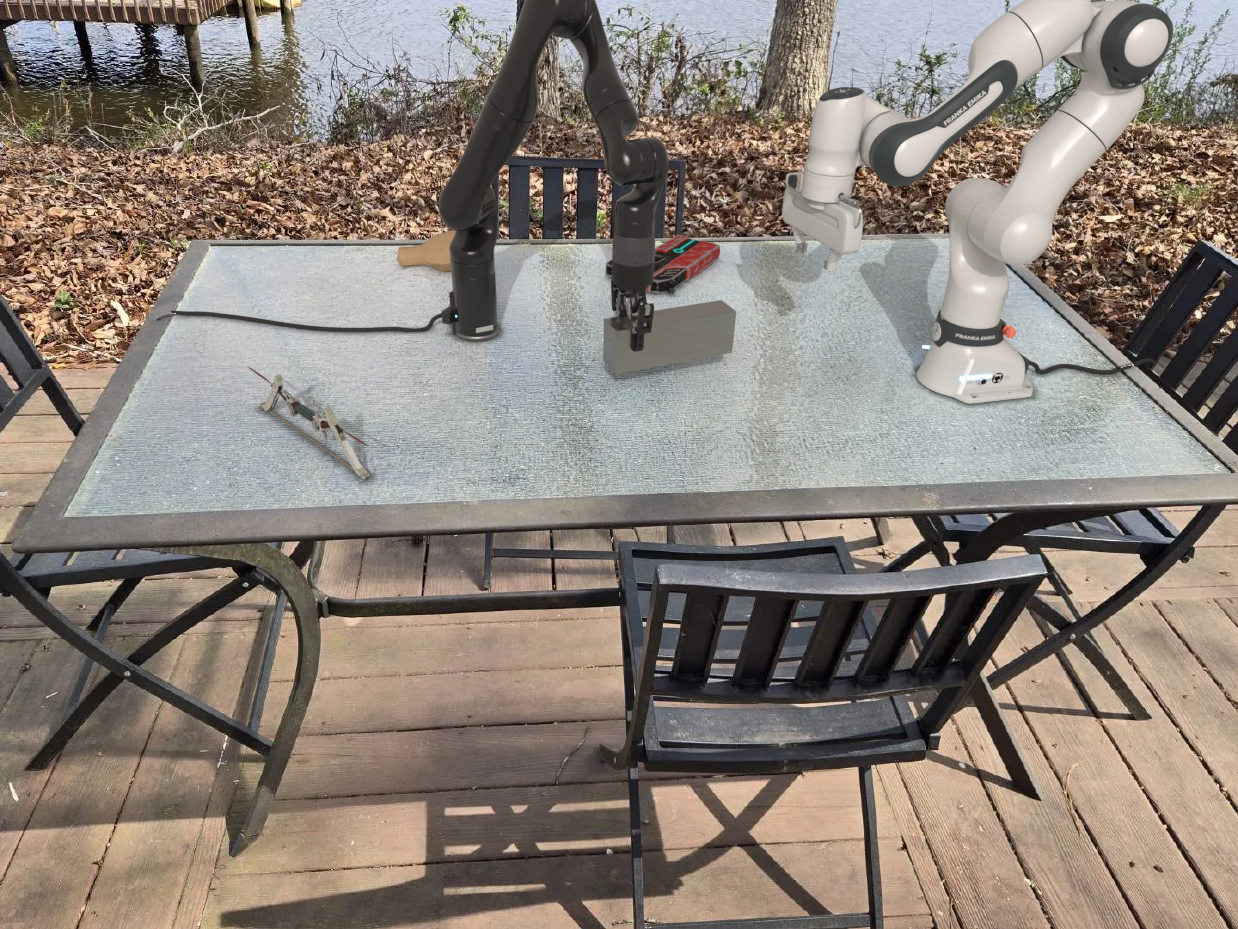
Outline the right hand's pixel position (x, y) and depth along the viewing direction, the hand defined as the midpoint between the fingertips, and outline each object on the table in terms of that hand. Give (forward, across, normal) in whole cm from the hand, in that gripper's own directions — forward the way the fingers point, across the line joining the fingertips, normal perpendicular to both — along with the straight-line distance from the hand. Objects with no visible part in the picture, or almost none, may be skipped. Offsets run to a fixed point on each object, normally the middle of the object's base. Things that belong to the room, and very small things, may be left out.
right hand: (814, 261), depth 163 cm
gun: (+26, +64, -2) cm, 69 cm away
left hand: (+14, +7, +34) cm, 38 cm away
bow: (+26, +13, +92) cm, 97 cm away
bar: (+19, +7, +26) cm, 32 cm away
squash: (+26, +86, +52) cm, 104 cm away
